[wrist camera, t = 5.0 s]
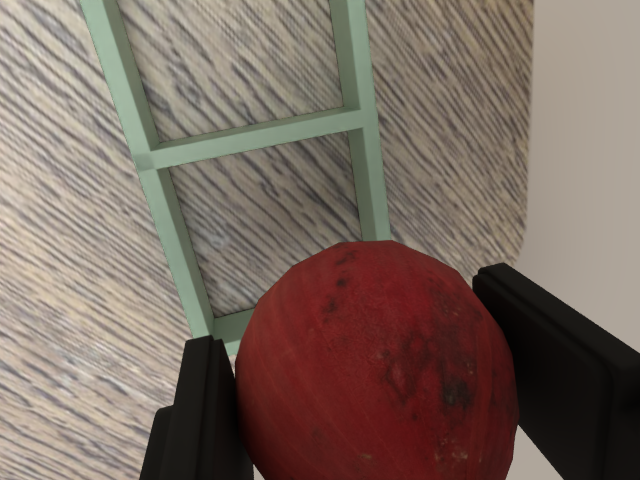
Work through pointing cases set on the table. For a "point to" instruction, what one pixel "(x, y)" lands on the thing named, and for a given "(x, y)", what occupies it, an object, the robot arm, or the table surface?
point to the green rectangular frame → (240, 148)
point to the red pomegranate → (375, 372)
